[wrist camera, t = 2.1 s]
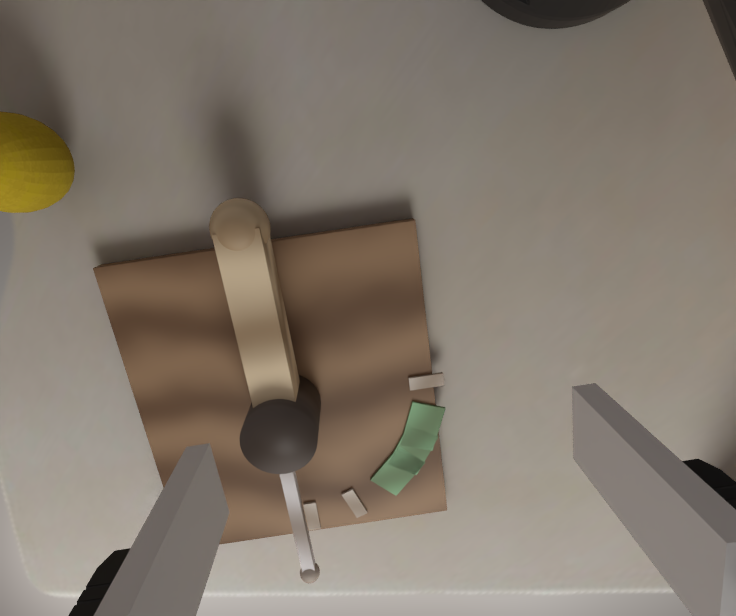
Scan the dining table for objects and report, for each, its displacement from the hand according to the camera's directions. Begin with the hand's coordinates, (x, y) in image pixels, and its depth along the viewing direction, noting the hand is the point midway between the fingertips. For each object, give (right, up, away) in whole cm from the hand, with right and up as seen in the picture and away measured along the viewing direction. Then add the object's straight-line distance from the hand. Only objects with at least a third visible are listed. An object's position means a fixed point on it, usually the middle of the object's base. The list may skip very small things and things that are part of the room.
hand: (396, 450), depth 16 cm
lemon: (-22, +14, +16) cm, 30 cm away
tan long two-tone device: (-7, -1, +20) cm, 21 cm away
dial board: (-7, -2, +22) cm, 23 cm away
